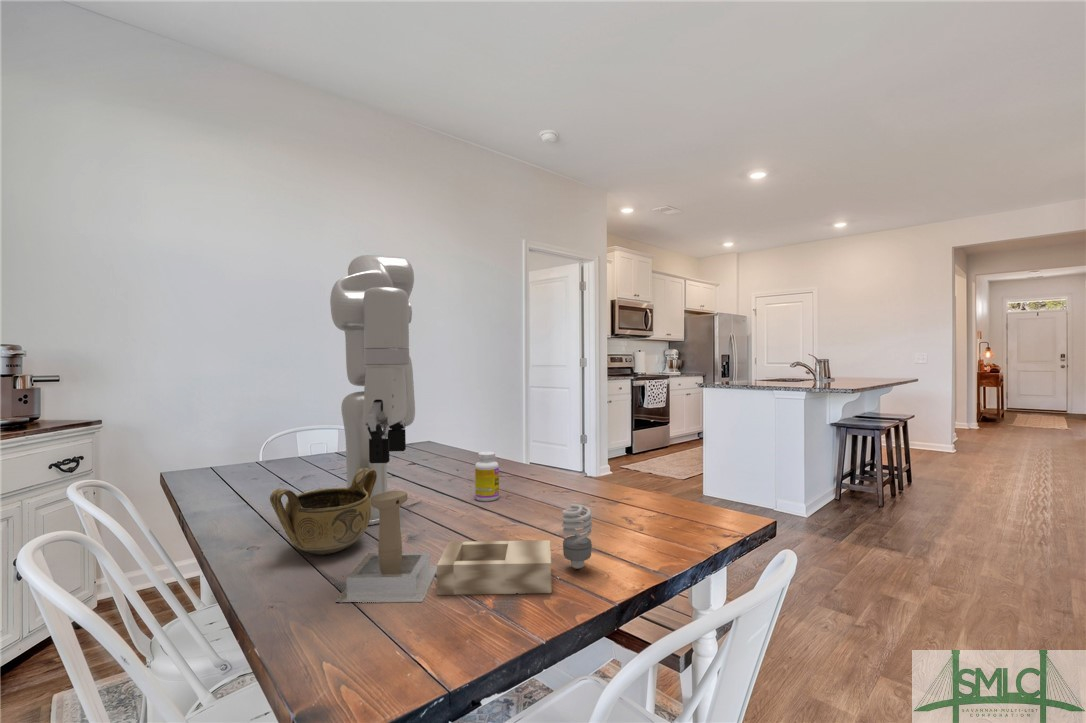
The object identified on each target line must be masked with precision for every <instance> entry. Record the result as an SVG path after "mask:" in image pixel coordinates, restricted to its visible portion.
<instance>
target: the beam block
mask: <svg viewBox="0 0 1086 723" xmlns="http://www.w3.org/2000/svg"><path fill="white" fill-rule="evenodd" d="M436 566H437V573H436V584H437V585H436V586H437V587H436V589H437V590H436V591H437V592H436V595H437V596H446V595H447V596H451V595H453V596H456V595H459V596H460V595H502V594H503V595H513V594H515V595H516V593H518V594H519V595H520V594H522V595H523V594H524V595H525V594H526V593H527V594H551V593H552V555H551V540H549V539H547V540H544V539H543V540H540V539H539V540H496V541H495V540H490V541H489V540H488V541H486V540H485V541H484V540H483V541H482V540H479V541H473V540H472V541H448V543H447V544H446V546H445V548H444V551H443V553H442V554H441V556H440V559H439V560H438V562H437V564H436ZM518 594H517V595H518ZM527 594H526V595H527Z"/></svg>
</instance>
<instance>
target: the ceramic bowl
mask: <svg viewBox="0 0 1086 723" xmlns="http://www.w3.org/2000/svg"><path fill="white" fill-rule="evenodd" d="M376 478H377V474H376V471H375V470H374V469H369V468H361V469H359V470H358V471H357V473H356V474H355V476H354V478H353V481H352V485H351V486H350V487H349V488H347V487H334V488H333V487H332V488H331V487H330V488H321V489H315V490H311V491H310V490H309V491H306V492H302V493H298V494H296V493H295V492H294V491H292V490H290V489H286V488H276V489H274V490H273V491H272V492H271V495H270V496H269V501H270V504H271V507H272V508H273V510H274V512H275V514H276V516H277V518H278V520H279V522H280V524H281V526H282V527H283V530H284V532H285V534H286V536H287V537H288V538H289V541H290V542H291V543H292V544H293V545H294V546H295V547H297V549H300V550H302V551H303V552H306V553H309V554H314V555H320V556H321V555H330V554H334V553H338V552H341V551H344V549H347V548H348V547H350V546H352V545H354V544H355V543H356V542H357V541H358V540H359V539H360V538H362V536H363V535H364V533H365V532H366V531H367V529H368V526H369V525H368V524H369V520H370V514H371V506H370V499H369V498H370V496H371V493H372V490H373V487H374V485H375V482H376ZM284 495H285V497H287V500H286V502H285V503H286V504H285V506H284V504H283V502H282V497H283V496H284Z"/></svg>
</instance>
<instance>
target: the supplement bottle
mask: <svg viewBox="0 0 1086 723" xmlns="http://www.w3.org/2000/svg"><path fill="white" fill-rule="evenodd" d="M495 458H496V453H495V452H494V451H481V452H478V461H477V462H476V463H475V465H474V475H475V477H474V480H475V481H474V485H475V488H474V489H475V490H474V491H475V492H474V493H475V495H474V496H475V500H477V501H479V502H492V501H496V500H498V499H499V497H500V475H499V474H500V470H499V469H500V466H499V463H498V462H497V461H495Z"/></svg>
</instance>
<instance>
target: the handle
mask: <svg viewBox="0 0 1086 723" xmlns="http://www.w3.org/2000/svg"><path fill="white" fill-rule="evenodd" d="M407 501H408V492H407V491H404V490H392V491H387V492H385V493H381V494H377V495H374V496H372V497H371V498H370V504H371V506H372V507H374V508H377V509H378V510H379V515H380V518H379V523H378V524H379V525H378V528H379V529H378V530H379V531H378V548H377V549H378V550H377V551H378V552H377V553H379V566H380V571H381V573H382V574H401V571H400V570H401V564H402V553H403V547H402V546H403V541H402V532H401V518H400V509H401V506H402V505H403V504H405V503H406V502H407Z"/></svg>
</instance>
